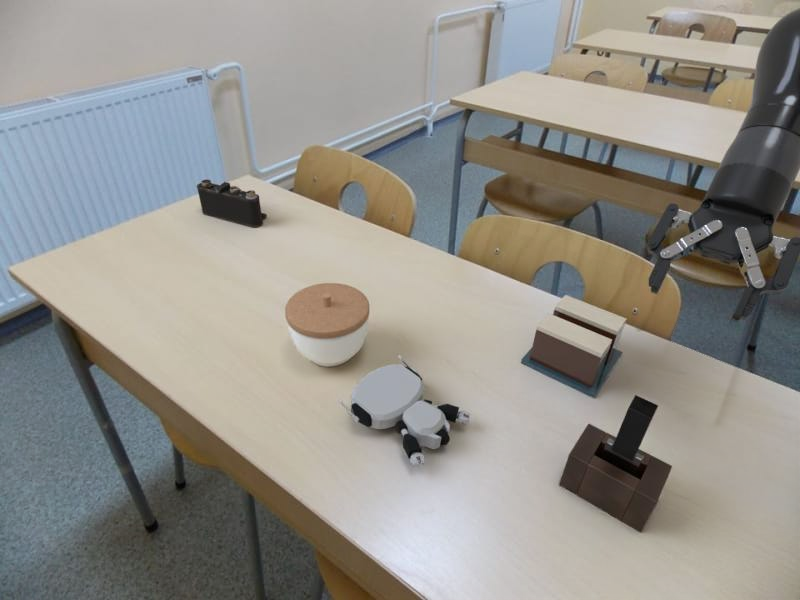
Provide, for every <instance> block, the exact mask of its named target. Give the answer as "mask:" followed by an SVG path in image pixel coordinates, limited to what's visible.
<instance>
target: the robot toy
mask: <svg viewBox="0 0 800 600" xmlns="http://www.w3.org/2000/svg"><path fill="white" fill-rule="evenodd" d="M397 358H398V359H399V360H400V361H401V362H402V363H403V364H404V365H403V364H397V363H394V364H393V363H392V364H388V365H383V366H381V367H378V368H376V369H374V370H371V371H370V372H368V373H367V374H365V375H364V376H363V377H362V378H361V379H360V380H359V381H358V382H357V383H356V385H355V386H354V387H353V389H352V390H351V394H350V404H349V405H350V409H349V408H348V406H347V405H346V404H345V403H344V402H343V400H342V399H341V398H339V397H337V398H336V399H337V402H338V403H339V404H340V405H341V406H342V407H343V408H344V409H345V410H346V411H347V412H348V413H349V415H350V416H351V417H352V418H353V420H354V421H355V423H359V424H361V425H363V426H365V427H366V428H372V429H375V430H385V429H390V428H392V427H395V429H396V431H397V433H398V434H401V435H402V437H403V438H402V447H403V451H404V452H405V454H406V456H407V458H408V460H410V463H411V464H412V465H413V466H414V467H420V466H423V465H424V464H425V463H426V457H425V456H424V455H423V454H422V447H426V448H429V449H432V450H436V449H439V448H440V446H441V447H444V446H447V445H448V444H449V442H450V439H451V437H450V434H449V432H450V428H451V427H450V426H451V424H450V423H449V422H451V423H454V424H455V423H456V421H459V422H460V423H461V424H467V423H469V422H470V417H471V415H470V413H469V412H468V411H466V410H460V407H459V406H456V405H452V404H450V403H444V404H440V405H436V404H433V401H432V400H429V399H426V398H424V399H423V396H424V391H425V384H424V382H423V378H422V376H421V375H420V373H419V372H418V371H417V370H415V369H414V368H412V366H411V365H409V363H408V362H407V361H405V359H404V358H403V357H402V356H401V355H400V354H397Z"/></svg>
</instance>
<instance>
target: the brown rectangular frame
mask: <svg viewBox="0 0 800 600" xmlns="http://www.w3.org/2000/svg"><path fill="white" fill-rule="evenodd" d="M616 437H617V436H614V435H612V434H611V433H609V432H606V431H605V430H603V429H601V428H599V427H597V426H594V425H593V424H591V423H588V424H587V425H586V427H585V428H584V430H583V431H582V433H581V434H580V436H579V438H578V439H577V441H576V442H575V444H574V445H573V446H572V449H571V451H570V452H569V454H568V457H567V459H566V463H565V465H564V468H563V471H562V475H561V477H560V480H559V483H558V485H559V487H562V488H564V489H566V490H568V491H569V492H570V493H573V494H574V495H576V496H577V497H579V498H581V499H582V500H585V501H586V502H588V503H590V504H591V505H593V506H594V507H596V508H598V509H600V510H601V511H603V512H605V513H606V514H608V515H610V516H612V517H613V518H615V519H616V520H619V521H621V522H622V523H624V524H625V525H627V526H628V527H630V528H632V529H633V530H635V531H637V532H638V533H642V532H643V530H644V528H645V526H646V524H647V522H648V520H649V519H650V517H651V515H652V513H653V512H654V509H655V508H656V506H657V504H658V502H659V500H660V498H661V495H662V492H663V490H664V487H665V485H666V483H667V480H668V478H669V476H670V473H671V471H672V469H673V465H671V464H670V463H667V462H666V461H664V460H661V459H659V458H658V457H656V456H653V455H651V454H650V453H648V452H646V451H644V450H642V449H640V448H639V449H638V451H637V453H639V454H641V455H643V456H644V457H643V459H642V461H641V464H640V466H639V468H638V470H637V472H636V474H635V476H632V475H631V474H629V473H627V472H625V471H623V470H621V469H619V468H618V467H616V466H614V465H612V464H610V463H608V462H606V461H604V460H603V459H601V455H602V453H603V450H604V448H605V445H606V442H607V441H608V439H609V438H610V439H612V440H614V441H615V439H616Z"/></svg>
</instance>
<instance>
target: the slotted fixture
mask: <svg viewBox="0 0 800 600" xmlns="http://www.w3.org/2000/svg"><path fill="white" fill-rule="evenodd" d="M626 322H627V318H626V317H624V316H621V315H619V314H615V313H614V312H611V311H608V310H606V309H603V308H600V307H598V306H595V305H593V304H590V303H588V302H586V301H583V300H580V299H578V298H575V297H572V296H570V295H567V294H565V295H564V296H563V297H562V298H561V299H560V300H559V301H558V302H557V303H556V304H555V306H554V309H553V313H552V314H551V313H550V312H548V313H546V315H545V316H544V317H543V318H542V319H541V321H540V322H539V323H538V324H537V325H536V328H535V333H534V338H533V342H532V346H531V347H530V349H529V350H528V351H527V352H526V353H525V354H524V356H523V357H522V358H521V359H520V364H523V365H525V366H526V367H529V368H530V369H532V370H535V371H537V372H538V373H541V374H543V375H546V376H548V377H549V378H551V379H554V380H556V381H557V382H560V383H561V384H563V385H566V386H568V387H570V388H572V389H574V390H577V391H578V392H580V393H582V394H585V395H587V396H589V397H590V398H593V399H595V398H596V396H597V395H598V393H599V391H600V390H601V389H602V387H603V386H604V384H605V382H606V381H607V379H608V378H609V376H610V374H612V372H613V370H614V369H615V367H616V365H617V364H618V363H619V361H620V359H621V358H622V357H623V354H624V351H621V350H619V349H617V348H618V345H619V342H620V339H621V337H622V334H623V331H624V328H625V325H626Z"/></svg>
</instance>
